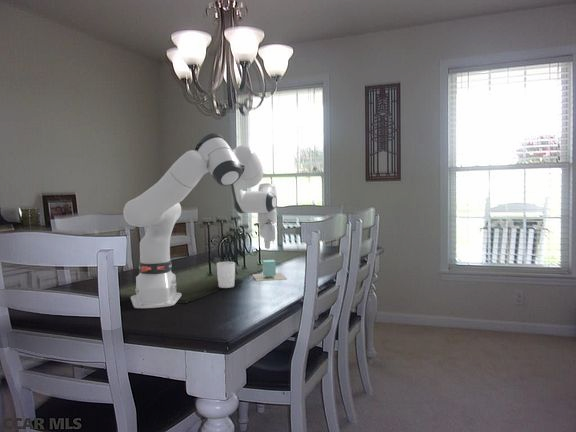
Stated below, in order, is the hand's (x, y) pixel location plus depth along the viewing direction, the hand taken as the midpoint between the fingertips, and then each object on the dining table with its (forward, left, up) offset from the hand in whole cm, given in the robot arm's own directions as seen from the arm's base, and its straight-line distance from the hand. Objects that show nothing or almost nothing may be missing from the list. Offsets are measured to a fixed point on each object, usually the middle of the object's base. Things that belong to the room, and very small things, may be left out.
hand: (267, 248), depth 214 cm
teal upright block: (-1, -1, -12) cm, 12 cm away
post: (-1, -1, -13) cm, 13 cm away
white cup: (-15, +20, -14) cm, 29 cm away
